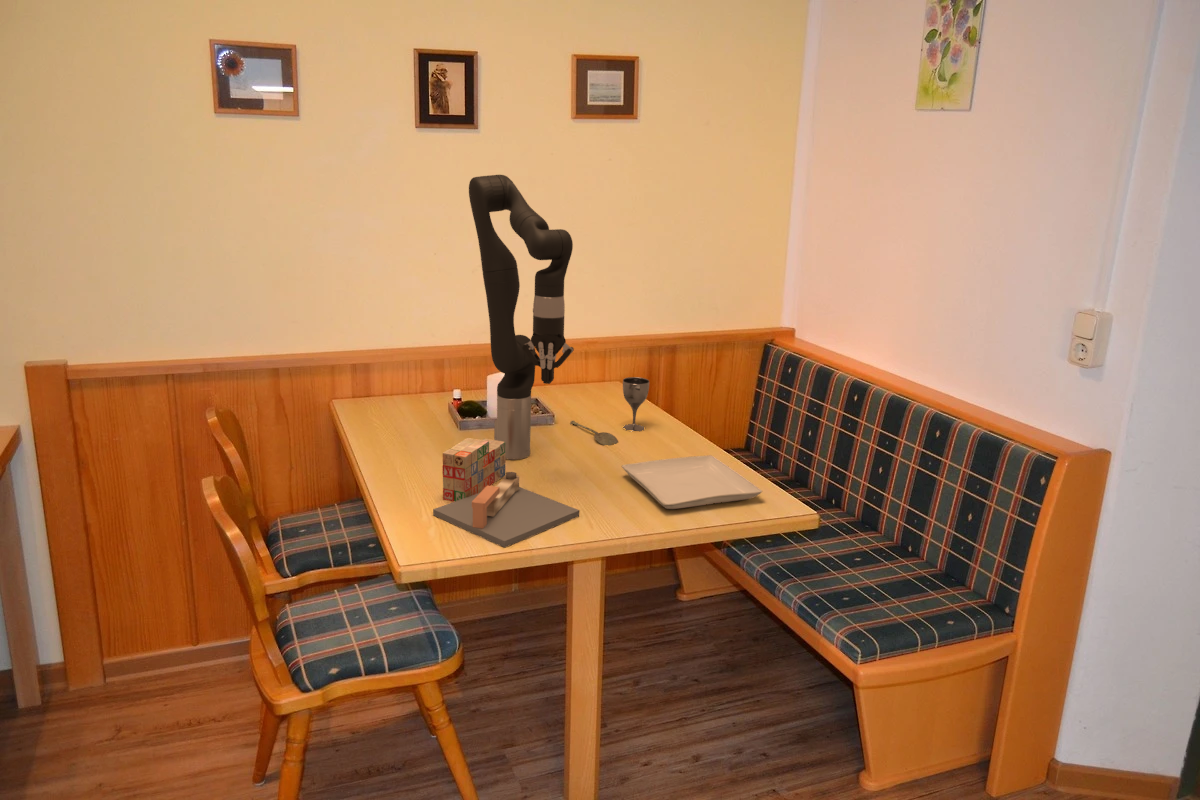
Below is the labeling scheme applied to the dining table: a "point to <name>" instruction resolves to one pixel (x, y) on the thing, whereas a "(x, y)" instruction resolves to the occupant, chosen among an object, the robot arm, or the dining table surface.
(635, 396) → the wine glass
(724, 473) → the square plate
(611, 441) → the soupspoon
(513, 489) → the arm link
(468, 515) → the board
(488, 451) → the stack of blocks
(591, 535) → the dining table surface
